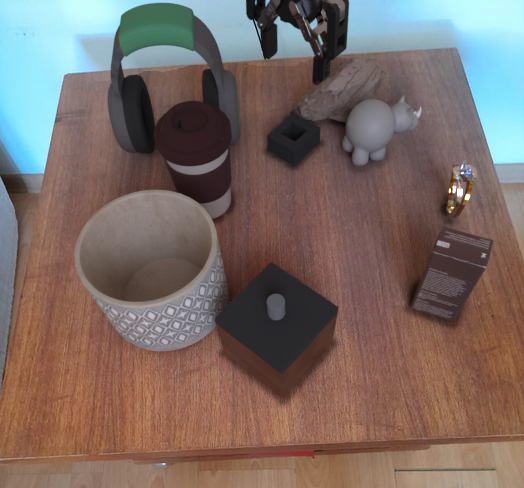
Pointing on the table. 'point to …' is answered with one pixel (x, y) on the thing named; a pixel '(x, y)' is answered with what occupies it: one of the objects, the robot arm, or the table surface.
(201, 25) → the headphones
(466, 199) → the ring
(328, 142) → the table surface
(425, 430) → the table surface
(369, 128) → the chubby cartoon animal
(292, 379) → the stand
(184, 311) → the planter
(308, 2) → the robot arm
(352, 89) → the stone
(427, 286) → the box
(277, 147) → the top pad
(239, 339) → the base pad
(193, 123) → the coffee cup
